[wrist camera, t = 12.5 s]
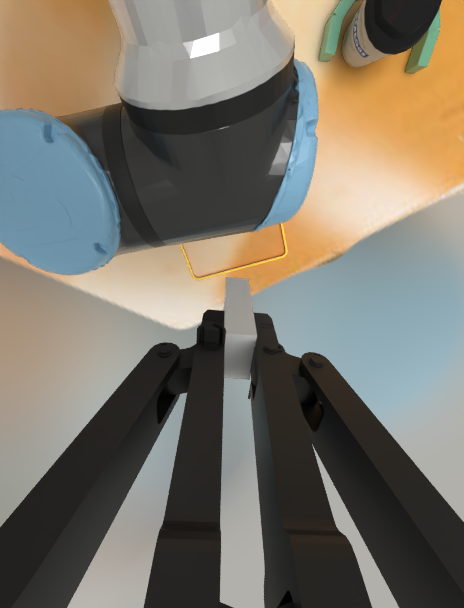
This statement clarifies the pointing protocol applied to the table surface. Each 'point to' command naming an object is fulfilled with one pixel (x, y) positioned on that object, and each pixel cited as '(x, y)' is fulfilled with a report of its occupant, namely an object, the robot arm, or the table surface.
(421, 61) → the cup ring
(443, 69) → the table surface
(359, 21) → the coffee cup
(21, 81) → the table surface
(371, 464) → the robot arm
